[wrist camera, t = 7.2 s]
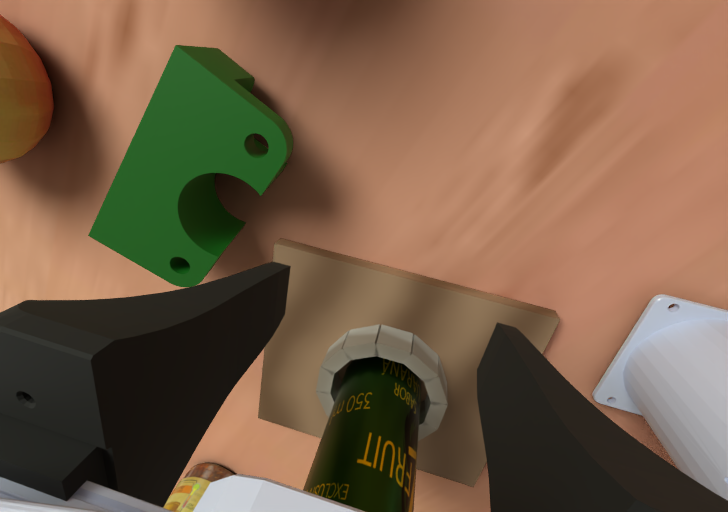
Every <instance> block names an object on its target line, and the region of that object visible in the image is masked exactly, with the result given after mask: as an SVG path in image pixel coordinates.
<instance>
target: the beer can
mask: <svg viewBox="0 0 728 512" xmlns="http://www.w3.org/2000/svg"><path fill="white" fill-rule="evenodd" d="M420 403H421V382H420V379H419V377H418V376H417V375H416V374H415V373H413V372H412V371H411V370H410V369H409V368H408V367H407V366H405V365H404V364H402V363H398V362H395V361H391V360H388V359H385V358H381V357H378V356H374V357H368V358H361V359H354V360H353V361H352V362H351V363H350V365H349V366H348V367H347V369H346V372H345V375H344V377H343V380H342V383H341V386H340V389H339V391H338V394H337V397H336V400H335V403H334V405H333V408H332V411H331V414H330V416H329V419H328V422H327V425H326V428H325V430H324V433H323V436H322V439H321V442H320V444H319V447H318V450H317V453H316V456H315V458H314V461H313V464H312V467H311V469H310V472H309V475H308V478H307V481H306V483H305V486H304V489H303V491H306V492H309V493H312V494H315V495H318V496H321V497H324V498H327V499H330V500H333V501H336V502H338V503H341V504H344V505H347V506H350V507H353V508H356V509H359V510H362V511H365V512H413V510H414V495H415V479H416V464H417V449H418V433H419V418H420Z"/></svg>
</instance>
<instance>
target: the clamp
mask: <svg viewBox="0 0 728 512" xmlns="http://www.w3.org/2000/svg"><path fill="white" fill-rule="evenodd" d="M254 81H255V79H254V77H253V76H251V75H250V74H249V73H248V72H246V71H245V70H244V69H243V68H242V67H240V66H239V65H238V64H237V63H235V62H234V61H233V60H232V59H230V58H229V57H228V56H227V55H226V54H224V53H223V52H222V51H221V50H219V49H218V48H207V47H194V46H182V45H176V46H175V48H174V50H173V52H172V54H171V57H170V59H169V61H168V63H167V65H166V68H165V70H164V72H163V74H162V76H161V78H160V81H159V83H158V85H157V87H156V89H155V91H154V94H153V96H152V98H151V100H150V102H149V105H148V107H147V109H146V111H145V113H144V115H143V118H142V120H141V122H140V124H139V126H138V128H137V131H136V133H135V135H134V137H133V139H132V142H131V144H130V146H129V148H128V150H127V152H126V155H125V157H124V159H123V161H122V163H121V165H120V168H119V170H118V172H117V174H116V176H115V179H114V181H113V183H112V185H111V187H110V189H109V192H108V194H107V196H106V198H105V200H104V202H103V205H102V207H101V209H100V211H99V213H98V216H97V218H96V220H95V222H94V224H93V226H92V229H91V231H90V233H89V235H88V236H90V237H92V238H93V239H95V240H97V241H98V242H100V243H102V244H104V245H105V246H107V247H109V248H111V249H112V250H114V251H116V252H117V253H119V254H121V255H123V256H124V257H126V258H128V259H130V260H131V261H133V262H135V263H136V264H138V265H140V266H142V267H143V268H145V269H147V270H149V271H150V272H152V273H154V274H155V275H157V276H159V277H161V278H162V279H164V280H166V281H168V282H169V283H171V284H173V285H176V286H180V287H192V286H195V285H197V284H199V283H200V282H201V281H202V280H203V279H204V277H205V276H206V275H207V274H208V272H209V271H210V270H211V269H212V267H213V266H214V264H215V263H216V262H217V260H218V259H219V257H220V256H221V254H222V253H223V252H224V250H225V249H226V248H227V247H228V245H229V244H230V243H231V242H232V240H233V239H234V238H235V237H236V235H237V234H238V233H239V232H240V230H241V229H242V228H243V226H244V225H245V224H246V222H243V221H241V220H239V219H237V218H235V217H234V216H232V215H231V214H230V213H229V212H228V211H227V210H226V209H225V208H224V207H223V205H222V204H221V203H220V201H219V199H218V197H217V194H216V191H215V184H214V179H215V173H224V174H228V175H231V176H234V177H237V178H239V179H241V180H243V181H245V182H246V183H248V184H249V185H250V186H251V187H253V188H254V189H255V190H256V191H257V192H258V193H259V195H260V196H261V195H262V194H263V193H264V192H265V190H266V189H267V188H268V187H269V186H270V185H271V184H272V182H273V181H274V180H275V179H276V178H277V177H278V175H279V174H280V173H281V172H282V171H283V169H284V168H285V166H286V165H287V164H288V163H286V161H287V160H288V158H289V157H290V155H291V152H292V149H293V137H292V133H291V131H290V129H289V127H288V125H287V124H286V122H285V121H284V120H283V119H282V118H281V117H280V116H278V115H277V114H276V113H275V112H273V111H272V110H271V109H270V108H268V107H267V106H266V105H265V104H263V103H262V102H261V101H260V100H258V99H257V98H256V97H255V96H253V95H252V94H251V93H250V92H251V90H252V88H253V85H254ZM255 133H256V134H260V135H262V136H263V137H264V138H265V139H266V141H267V143H268V147H269V149H268V148H267V147H265V146H264V145H263V144H261V143H260V142H259V141H257V140H256V139H255V138H254V134H255Z"/></svg>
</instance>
